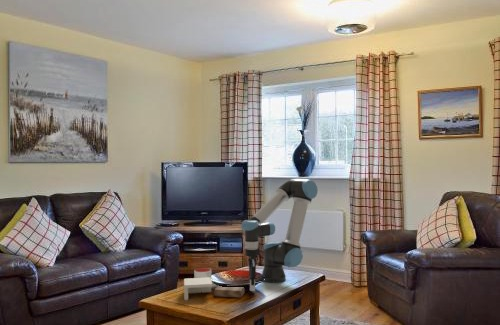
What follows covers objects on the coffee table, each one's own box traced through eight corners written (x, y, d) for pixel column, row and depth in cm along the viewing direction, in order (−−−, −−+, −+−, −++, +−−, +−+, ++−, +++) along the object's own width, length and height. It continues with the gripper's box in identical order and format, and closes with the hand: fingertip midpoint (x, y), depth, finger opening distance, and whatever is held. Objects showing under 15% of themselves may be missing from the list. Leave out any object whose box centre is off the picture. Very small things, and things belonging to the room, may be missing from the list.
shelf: (210, 291, 264) (210, 277, 264) (212, 298, 250) (212, 283, 250) (184, 292, 262) (184, 278, 262) (184, 300, 248) (184, 285, 248)
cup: (210, 289, 268) (210, 272, 268) (193, 289, 269) (193, 272, 269) (212, 284, 278) (212, 268, 278) (195, 284, 279) (195, 268, 279)
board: (244, 293, 261) (244, 286, 261) (241, 298, 252) (240, 290, 252) (219, 292, 264) (218, 285, 264) (214, 296, 255) (214, 289, 255)
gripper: (243, 246, 265) (244, 287, 266) (246, 251, 252) (247, 294, 253) (256, 246, 266) (257, 286, 267) (260, 250, 254) (261, 293, 254)
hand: (252, 290), depth 260 cm, fingers closed
